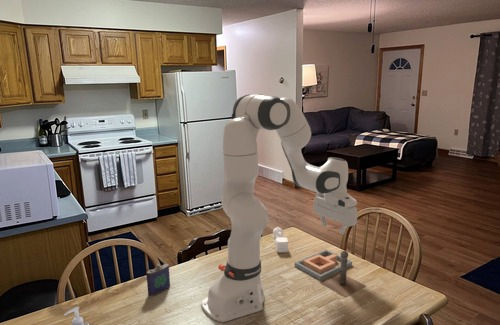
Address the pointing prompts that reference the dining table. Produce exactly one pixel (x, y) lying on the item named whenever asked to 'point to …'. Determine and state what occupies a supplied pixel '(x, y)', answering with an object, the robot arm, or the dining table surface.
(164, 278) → the flask
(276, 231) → the container set
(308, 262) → the ring
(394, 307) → the dining table surface
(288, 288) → the dining table surface
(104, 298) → the dining table surface
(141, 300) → the dining table surface
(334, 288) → the post
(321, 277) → the grey rectangular frame
